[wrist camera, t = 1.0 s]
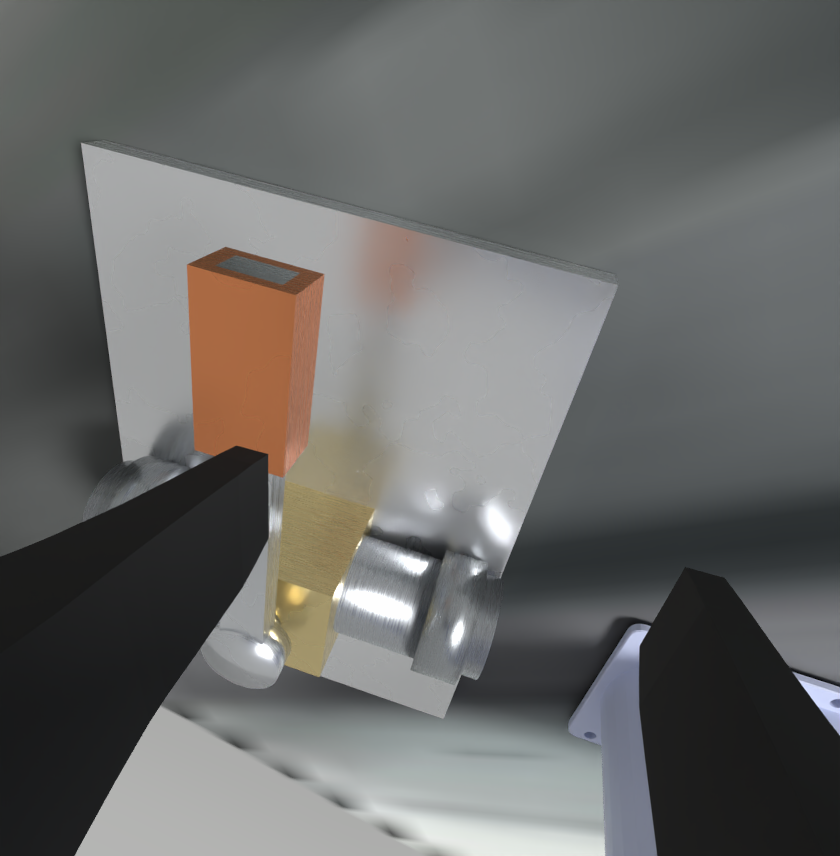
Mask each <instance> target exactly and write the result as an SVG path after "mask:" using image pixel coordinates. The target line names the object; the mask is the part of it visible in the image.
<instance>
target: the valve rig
mask: <svg viewBox="0 0 840 856" xmlns="http://www.w3.org/2000/svg"><path fill="white" fill-rule="evenodd" d="M81 146H82V154H83V161H84V169H85V176H86V184H87V191H88V199H89V207H90V214H91V222H92V229H93V237H94V244H95V252H96V259H97V267H98V274H99V282H100V290H101V297H102V305H103V312H104V320H105V327H106V335H107V342H108V350H109V358H110V365H111V373H112V380H113V388H114V395H115V403H116V410H117V418H118V425H119V433H120V441H121V448H122V456H123V462H122V463H119V464H118V465H116V466H115V467H113V468H112V469H111V470H109V471H108V472H107V473H106V474H105V475H104V476H103V478H102V479H101V480H100V481H99V483H98V484H97V486H96V487H95V489H94V490H93V492H92V494H91V496H90V498H89V500H88V503H87V505H86V508H85V511H84V515H83V520H82V522H84V521H86V520H88V519H90V518H92V517H95V516H97V515H99V514H101V513H103V512H106V511H108V510H110V509H112V508H114V507H116V506H119V505H121V504H123V503H125V502H127V501H129V500H131V499H133V498H135V497H137V496H139V495H141V494H143V493H145V492H147V491H148V490H150V489H152V488H154V487H156V486H158V485H160V484H162V483H164V482H166V481H168V480H170V479H172V478H174V477H176V476H178V475H180V474H182V473H184V472H185V471H187V470H189V469H191V468H193V467H195V466H197V465H199V464H201V463H203V462H205V461H206V460H208V459H210V458H212V457H214V456H212V455H209V454H206V453H203V452H200V451H196V450H195V449H194V425H193V401H192V377H191V353H190V329H189V305H188V281H187V264H189V263H191V262H193V261H196V260H198V259H200V258H202V257H204V256H207V255H209V254H211V253H213V252H215V251H217V250H220V249H222V248H224V247H228V248H232V249H236V250H239V251H243V252H247V253H250V254H254V255H257V256H261V257H265V258H268V259H272V260H275V261H279V262H283V263H286V264H290V265H293V266H297V267H301V268H304V269H308V270H311V271H315V272H319V273H322V274H325V275H324V285H323V295H322V306H321V316H320V326H319V336H318V346H317V356H316V366H315V377H314V387H313V397H312V407H311V417H310V427H309V438H308V445H307V447H306V448H305V449H304V451H303V452H302V453H301V455H300V456H299V457H298V459H297V460H296V461H295V463H294V464H293V465H292V467H291V468H290V469H289V471H288V472H287V473H286V475H285V488H284V502H283V515H282V529H281V542H280V556H279V570H278V583H277V597H276V610H275V622H277V623H278V624H279V625H280V626H281V627H282V628H283V629H284V630H285V632H286V633H287V635H288V636H289V638H290V641H291V652H290V655H289V657H288V658H287V660H286V662H285V664H284V665H286V666H289V667H291V668H294V669H297V670H300V671H303V672H306V673H309V674H311V675H314V676H317V677H320V676H322V677H325V678H327V679H330V680H333V681H336V682H339V683H342V684H345V685H347V686H350V687H353V688H356V689H359V690H362V691H365V692H367V693H370V694H373V695H376V696H379V697H382V698H385V699H387V700H390V701H393V702H396V703H399V704H402V705H405V706H407V707H410V708H413V709H416V710H419V711H422V712H425V713H427V714H430V715H433V716H436V717H439V718H442V719H444V717H445V714H446V712H447V709H448V707H449V704H450V702H451V699H452V697H453V694H454V692H455V689H456V687H457V684H458V682H459V679H460V677H461V675H463V676H466V677H469V678H472V679H475V680H477V679H478V678H479V676H480V674H481V672H482V670H483V668H484V665H485V662H486V659H487V657H488V654H489V650H490V647H491V644H492V640H493V637H494V633H495V629H496V625H497V621H498V617H499V612H500V607H501V602H502V596H503V587H504V582H503V579H500V578H501V575H502V573H503V570H504V568H505V565H506V563H507V560H508V558H509V555H510V553H511V550H512V548H513V545H514V543H515V541H516V538H517V536H518V533H519V531H520V528H521V526H522V523H523V521H524V518H525V516H526V513H527V511H528V508H529V506H530V503H531V501H532V498H533V496H534V493H535V491H536V488H537V486H538V484H539V481H540V479H541V476H542V474H543V471H544V469H545V466H546V464H547V461H548V459H549V456H550V454H551V451H552V449H553V446H554V444H555V441H556V439H557V436H558V434H559V431H560V429H561V426H562V424H563V422H564V419H565V417H566V414H567V412H568V409H569V407H570V404H571V402H572V399H573V397H574V394H575V392H576V389H577V387H578V384H579V382H580V379H581V377H582V374H583V372H584V369H585V367H586V365H587V362H588V360H589V357H590V355H591V352H592V350H593V347H594V345H595V342H596V340H597V337H598V335H599V332H600V330H601V327H602V325H603V322H604V320H605V317H606V315H607V312H608V310H609V307H610V305H611V303H612V300H613V298H614V295H615V293H616V290H617V288H618V281H617V276H616V275H615V274H611V273H608V272H604V271H600V270H596V269H592V268H589V267H585V266H581V265H577V264H573V263H570V262H566V261H562V260H558V259H554V258H551V257H547V256H543V255H539V254H535V253H532V252H528V251H524V250H520V249H517V248H513V247H509V246H505V245H501V244H498V243H494V242H490V241H486V240H482V239H479V238H475V237H471V236H467V235H463V234H460V233H456V232H452V231H448V230H444V229H441V228H437V227H433V226H429V225H425V224H422V223H418V222H414V221H410V220H406V219H403V218H399V217H395V216H391V215H387V214H384V213H380V212H376V211H372V210H368V209H365V208H361V207H357V206H353V205H349V204H346V203H342V202H338V201H334V200H330V199H327V198H323V197H319V196H315V195H311V194H308V193H304V192H300V191H296V190H292V189H289V188H285V187H281V186H277V185H273V184H270V183H266V182H262V181H258V180H254V179H251V178H247V177H243V176H239V175H235V174H232V173H228V172H224V171H220V170H216V169H213V168H209V167H205V166H201V165H197V164H194V163H190V162H186V161H182V160H179V159H175V158H171V157H167V156H163V155H160V154H156V153H152V152H148V151H144V150H141V149H137V148H133V147H129V146H125V145H122V144H118V143H114V142H110V141H106V140H102V141H93V142H84V143H81Z"/></svg>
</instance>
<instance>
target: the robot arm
mask: <svg viewBox="0 0 840 856" xmlns="http://www.w3.org/2000/svg"><path fill="white" fill-rule="evenodd" d="M268 539H269V487H268V454H266V453H263V452H259V451H255V450H251V449H248V448H244V447H240V446H237V445H236V446H234V447H232V448H230V449H228V450H226V451H224V452H222V453H220V454H218V455H216V456H214V457H212V458H210V459H208V460H206V461H205V462H203V463H201V464H199V465H197V466H195V467H193V468H191V469H189V470H187V471H185V472H184V473H182V474H180V475H178V476H176V477H174V478H172V479H170V480H168V481H166V482H164V483H162V484H160V485H158V486H156V487H154V488H152V489H150V490H148V491H147V492H145V493H143V494H141V495H139V496H137V497H135V498H133V499H131V500H129V501H127V502H125V503H123V504H121V505H119V506H116V507H114V508H112V509H110V510H108V511H106V512H103V513H101V514H99V515H97V516H95V517H92V518H90V519H88V520H86V521H84V522H82V523H79V524H77V525H75V526H73V527H71V528H69V529H66V530H64V531H62V532H60V533H58V534H56V535H53V536H51V537H48V538H46V539H44V540H41V541H39V542H37V543H34V544H32V545H29V546H27V547H24V548H22V549H19V550H17V551H14V552H12V553H9V554H7V555H4V556H1V557H0V856H74V855H75V854H76V852H77V850H78V848H79V846H80V844H81V843H82V841H83V839H84V837H85V835H86V834H87V832H88V830H89V828H90V826H91V824H92V823H93V821H94V819H95V817H96V815H97V814H98V812H99V810H100V808H101V806H102V804H103V803H104V800H105V799H106V797H107V795H108V794H109V792H110V790H111V788H112V786H113V785H114V783H115V781H116V779H117V778H118V776H119V774H120V772H121V771H122V769H123V767H124V765H125V764H126V762H127V760H128V758H129V757H130V755H131V753H132V752H133V750H134V748H135V746H136V745H137V743H138V741H139V739H140V737H141V736H142V734H143V732H144V731H145V729H146V727H147V725H148V724H149V722H150V721H151V719H152V717H153V716H154V715H155V713H156V711H157V710H158V708H159V707H160V705H161V704H162V702H163V701H164V699H165V698H166V696H167V695H168V693H169V692H170V690H171V689H172V688H173V686H174V685H175V683H176V682H177V681H178V679H179V678H180V676H181V675H182V673H183V672H184V671H185V669H186V668H187V666H188V665H189V664H190V662H191V661H192V659H193V658H194V656H195V655H196V654H197V652H198V651H199V649H200V648H201V646H202V645H203V644H204V642H205V641H206V639H207V638H208V637H209V635H210V634H211V632H212V631H213V630H214V628H215V627H216V625H217V624H218V622H219V621H220V620H221V618H222V617H223V615H224V614H225V612H226V611H227V609H228V608H229V607H230V605H231V604H232V602H233V601H234V599H235V598H236V596H237V595H238V593H239V592H240V591H241V589H242V588H243V586H244V584H245V582H246V580H247V579H248V577H249V575H250V573H251V571H252V570H253V568H254V566H255V564H256V562H257V560H258V558H259V556H260V554H261V552H262V550H263V548H264V546H265V545H266V543H267V541H268ZM568 730H569V732H570V733H571V734H572V735H573V736H576V737H578V738H581V739H584V740H587V741H590V742H593V743H596V744H599V745H601V748H602V776H603V804H604V832H605V856H840V687H838V686H835V685H832V684H829V683H826V682H823V681H819V680H816V679H813V678H810V677H807V676H804V675H801V674H798V673H795V672H792V671H791V669H790V668H789V667H788V665H787V664H786V663H785V661H784V660H783V658H782V657H781V656H780V654H779V653H778V651H777V650H776V649H775V647H774V646H773V644H772V643H771V642H770V640H769V639H768V637H767V636H766V635H765V633H764V632H763V630H762V629H761V627H760V626H759V625H758V623H757V622H756V620H755V619H754V618H753V616H752V615H751V613H750V612H749V611H748V609H747V608H746V606H745V605H744V604H743V602H742V601H741V599H740V598H739V597H738V595H737V594H736V593H735V591H734V590H733V588H732V587H731V586H730V585H729V583H728V582H727V581H726V579H725V578H723V577H719V576H715V575H712V574H708V573H704V572H701V571H697V570H693V569H690V568H686V567H685V569H684V570H683V572H682V574H681V576H680V577H679V579H678V581H677V582H676V584H675V586H674V588H673V589H672V591H671V593H670V594H669V596H668V598H667V600H666V601H665V603H664V605H663V606H662V608H661V610H660V612H659V613H658V615H657V617H656V618H655V620H654V622H653V624H652V625H651V626H649V625H645V624H634V625H632V626H630V627H629V628H628V629H627V631H626V633H625V634H624V636H623V637H622V639H621V640H620V642H619V643H618V645H617V647H616V648H615V650H614V651H613V653H612V654H611V656H610V657H609V659H608V661H607V662H606V664H605V665H604V667H603V668H602V670H601V672H600V673H599V675H598V676H597V678H596V679H595V681H594V682H593V684H592V686H591V687H590V689H589V690H588V692H587V693H586V695H585V697H584V698H583V700H582V701H581V703H580V704H579V706H578V707H577V709H576V711H575V712H574V714H573V715H572V717H571V718H570V720H569V722H568Z"/></svg>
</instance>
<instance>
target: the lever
mask: <svg viewBox="0 0 840 856" xmlns="http://www.w3.org/2000/svg"><path fill="white" fill-rule="evenodd" d="M324 275H325V274H322V273H319V272H315V271H311V270H308V269H304V268H301V267H297V266H293V265H290V264H286V263H283V262H279V261H275V260H272V259H268V258H265V257H261V256H257V255H254V254H250V253H247V252H243V251H239V250H236V249H232V248H228V247H224V248H222V249H220V250H217V251H215V252H213V253H211V254H209V255H207V256H204V257H202V258H200V259H198V260H196V261H193V262H191V263H189V264H187V281H188V305H189V329H190V353H191V377H192V401H193V425H194V449H195V450H196V451H200V452H203V453H206V454H209V455H212V456H216V455H218V454H220V453H222V452H224V451H226V450H228V449H230V448H232V447H234V446H236V445H237V446H240V447H244V448H248V449H251V450H255V451H259V452H263V453H266V454H268V487H269V539H268V541H267V543H266V545H265V546H264V548H263V550H262V552H261V554H260V556H259V558H258V560H257V562H256V564H255V566H254V568H253V570H252V571H251V573H250V575H249V577H248V579H247V580H246V582H245V584H244V586H243V588H242V589H241V591H240V592H239V593H238V595H237V596H236V598H235V599H234V601H233V602H232V604H231V605H230V607H229V608H228V609H227V611H226V612H225V614H224V615H223V617H222V618H221V620H220V621H219V622H218V624H217V625H216V627H215V628H214V630H213V631H212V632H211V634H210V635H209V637H208V638H207V639H206V641H205V642H204V644H203V645H202V646H201V652H202V655H203V658H204V659H205V661H206V663H207V664H208V665H209V666H210V667H211V668H212V669H213V670H214V671H215V672H216V673H217V674H219V675H220V676H221V677H223V678H224V679H226V680H228V681H230V682H232V683H234V684H237V685H239V686H242V687H246V688H252V689H263V688H267V687H270V686H272V685H273V684H274V683H275V682H276V680H277V678H278V676H279V674H280V672H281V670H282V668H283V666H284V664H285V662H286V660H287V658H288V657H289V655H290V652H291V641H290V638H289V636H288V635H287V633H286V632H285V630H284V629H283V628H282V627H281V626H280V625H279V624H278V623H277V622H275V610H276V597H277V583H278V570H279V556H280V542H281V529H282V515H283V502H284V488H285V475H286V473H287V472H288V471H289V469H290V468H291V467H292V465H293V464H294V463H295V461H296V460H297V459H298V457H299V456H300V455H301V453H302V452H303V451H304V449H305V448H306V447H307V445H308V438H309V427H310V417H311V407H312V397H313V387H314V377H315V366H316V356H317V346H318V336H319V326H320V316H321V306H322V295H323V285H324Z"/></svg>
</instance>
